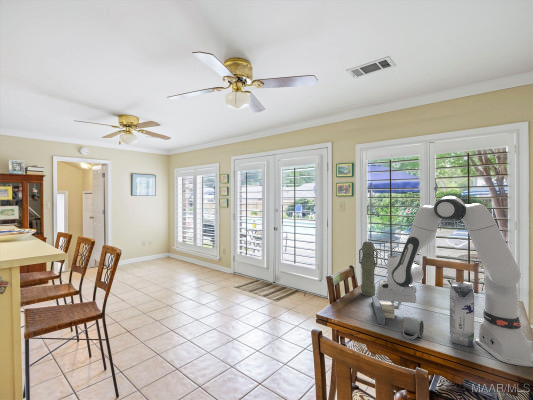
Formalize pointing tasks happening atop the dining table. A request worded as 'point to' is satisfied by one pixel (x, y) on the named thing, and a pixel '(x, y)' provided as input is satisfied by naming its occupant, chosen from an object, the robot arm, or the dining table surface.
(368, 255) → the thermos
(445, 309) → the dining table surface
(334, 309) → the dining table surface
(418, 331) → the ceramic mug
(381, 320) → the grey rectangular bar
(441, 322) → the dining table surface
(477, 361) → the dining table surface
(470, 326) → the juice carton
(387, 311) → the birch block
